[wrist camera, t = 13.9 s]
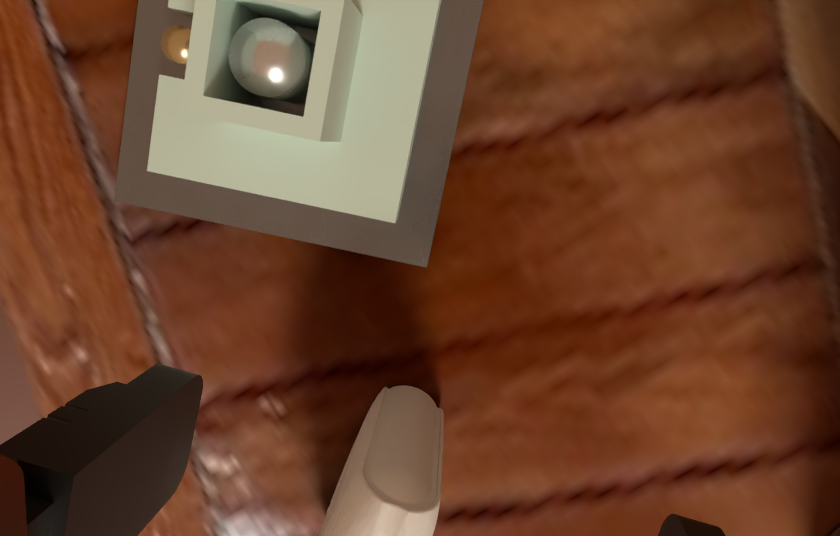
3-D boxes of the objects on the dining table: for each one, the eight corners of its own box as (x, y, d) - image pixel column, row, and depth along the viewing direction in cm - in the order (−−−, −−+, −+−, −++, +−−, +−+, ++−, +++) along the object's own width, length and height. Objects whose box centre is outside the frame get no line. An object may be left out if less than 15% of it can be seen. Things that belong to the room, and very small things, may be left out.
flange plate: (448, -35, 31) (447, -81, 25) (397, 219, 33) (384, 238, 27) (193, -88, 31) (127, -147, 25) (160, 169, 34) (91, 176, 27)
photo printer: (387, 556, 39) (357, 743, 27) (317, 529, 39) (256, 704, 27) (454, 400, 37) (455, 525, 25) (381, 371, 37) (346, 483, 25)
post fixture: (496, -59, 33) (508, -117, 25) (428, 260, 36) (421, 291, 28) (173, -126, 33) (92, -203, 26) (132, 197, 36) (49, 211, 29)
